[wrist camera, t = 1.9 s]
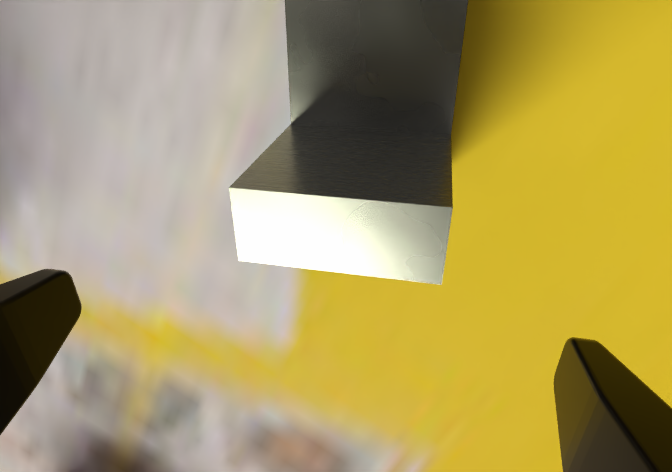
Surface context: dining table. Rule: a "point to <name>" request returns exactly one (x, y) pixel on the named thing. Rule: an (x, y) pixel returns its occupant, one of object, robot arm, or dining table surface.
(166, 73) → the dining table surface
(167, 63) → the dining table surface
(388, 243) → the bracket
